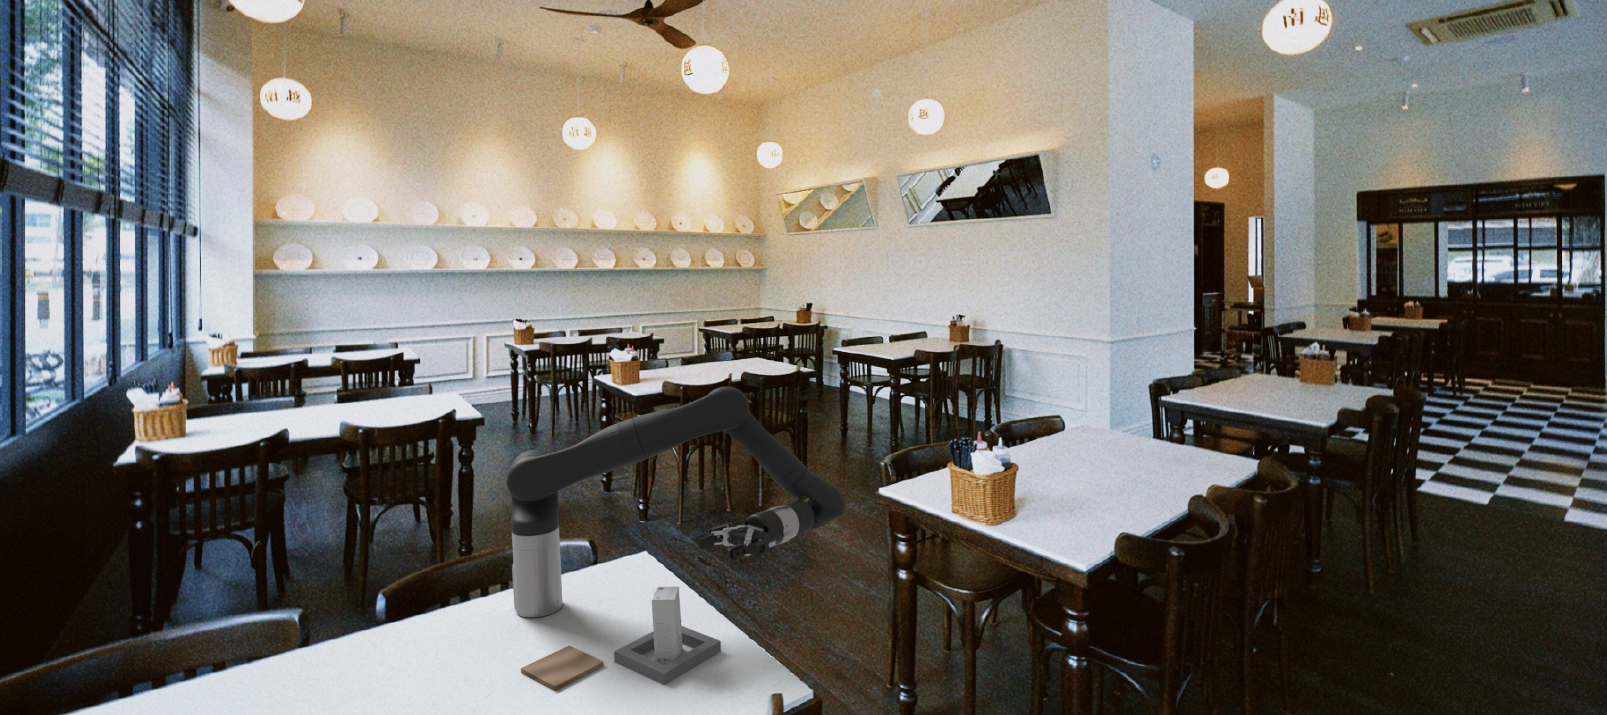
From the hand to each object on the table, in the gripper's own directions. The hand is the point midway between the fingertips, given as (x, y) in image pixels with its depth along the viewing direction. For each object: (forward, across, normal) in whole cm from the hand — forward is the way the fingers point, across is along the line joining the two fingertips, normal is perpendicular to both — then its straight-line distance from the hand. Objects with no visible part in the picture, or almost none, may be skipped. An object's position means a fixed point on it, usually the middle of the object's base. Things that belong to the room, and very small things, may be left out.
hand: (713, 549), depth 141 cm
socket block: (+12, 0, +17) cm, 20 cm away
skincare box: (+12, 0, +17) cm, 21 cm away
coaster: (+26, -11, +16) cm, 33 cm away
